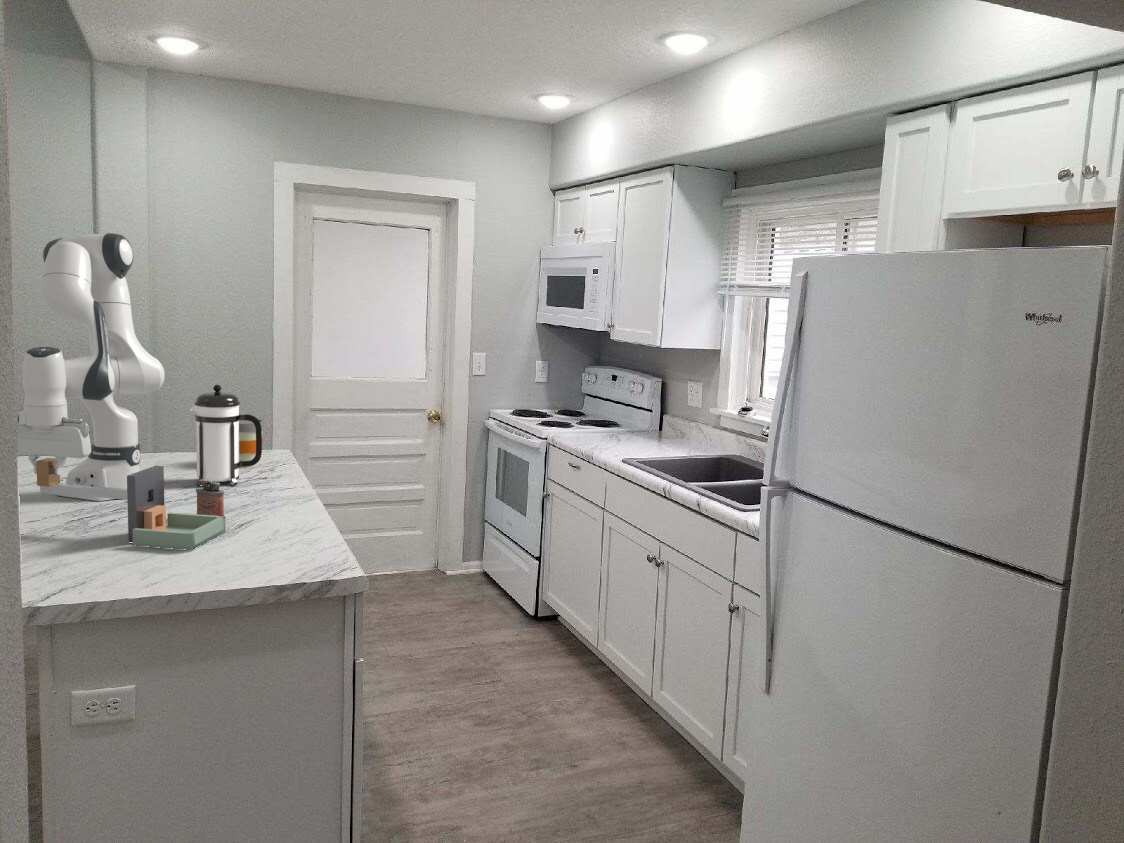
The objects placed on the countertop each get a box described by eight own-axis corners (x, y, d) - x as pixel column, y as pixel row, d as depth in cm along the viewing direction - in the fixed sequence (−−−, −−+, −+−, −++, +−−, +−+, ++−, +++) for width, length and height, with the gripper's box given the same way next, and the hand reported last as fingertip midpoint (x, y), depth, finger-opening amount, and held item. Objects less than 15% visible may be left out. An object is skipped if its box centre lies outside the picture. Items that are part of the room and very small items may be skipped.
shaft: (37, 493, 207) (36, 460, 206) (48, 490, 211) (47, 457, 210) (141, 501, 205) (141, 468, 204) (151, 497, 209) (150, 465, 208)
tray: (133, 546, 200) (132, 529, 200) (170, 528, 216) (170, 512, 215) (192, 550, 199) (192, 534, 198) (225, 532, 215) (225, 516, 214)
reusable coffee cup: (256, 470, 285) (255, 424, 283) (217, 468, 285) (217, 422, 283) (269, 462, 297) (269, 419, 295) (232, 460, 298) (232, 417, 295)
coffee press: (215, 491, 255) (214, 389, 250) (181, 482, 263) (179, 383, 259) (263, 481, 269) (263, 385, 265) (230, 473, 278) (229, 380, 273)
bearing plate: (128, 543, 202) (126, 475, 200) (157, 529, 214) (155, 465, 212) (136, 543, 202) (135, 476, 200) (164, 530, 214) (163, 466, 212)
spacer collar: (144, 536, 205) (143, 511, 204) (158, 529, 211) (157, 505, 210) (152, 536, 205) (151, 511, 204) (166, 529, 211) (165, 505, 210)
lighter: (227, 518, 227) (227, 481, 225) (218, 521, 224) (218, 483, 222) (202, 514, 229) (202, 477, 228) (193, 517, 226) (192, 480, 225)
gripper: (96, 417, 209) (97, 474, 211) (15, 412, 210) (18, 468, 212) (79, 421, 202) (81, 479, 204) (-4, 415, 204) (-1, 473, 206)
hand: (48, 473), depth 208 cm, fingers closed on shaft, 3 cm apart
